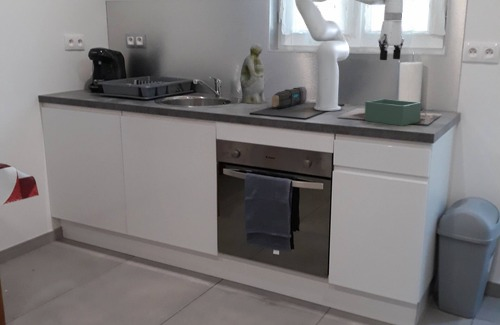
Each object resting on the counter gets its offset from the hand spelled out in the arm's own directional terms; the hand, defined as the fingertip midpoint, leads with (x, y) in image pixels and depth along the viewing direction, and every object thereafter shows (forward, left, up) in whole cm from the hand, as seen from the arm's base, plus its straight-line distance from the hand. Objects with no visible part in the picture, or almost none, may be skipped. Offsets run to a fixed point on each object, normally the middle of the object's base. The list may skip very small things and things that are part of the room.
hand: (389, 59), depth 222 cm
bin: (+8, -9, -24) cm, 27 cm away
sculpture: (-75, -9, -25) cm, 79 cm away
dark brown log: (-51, -7, -25) cm, 57 cm away
